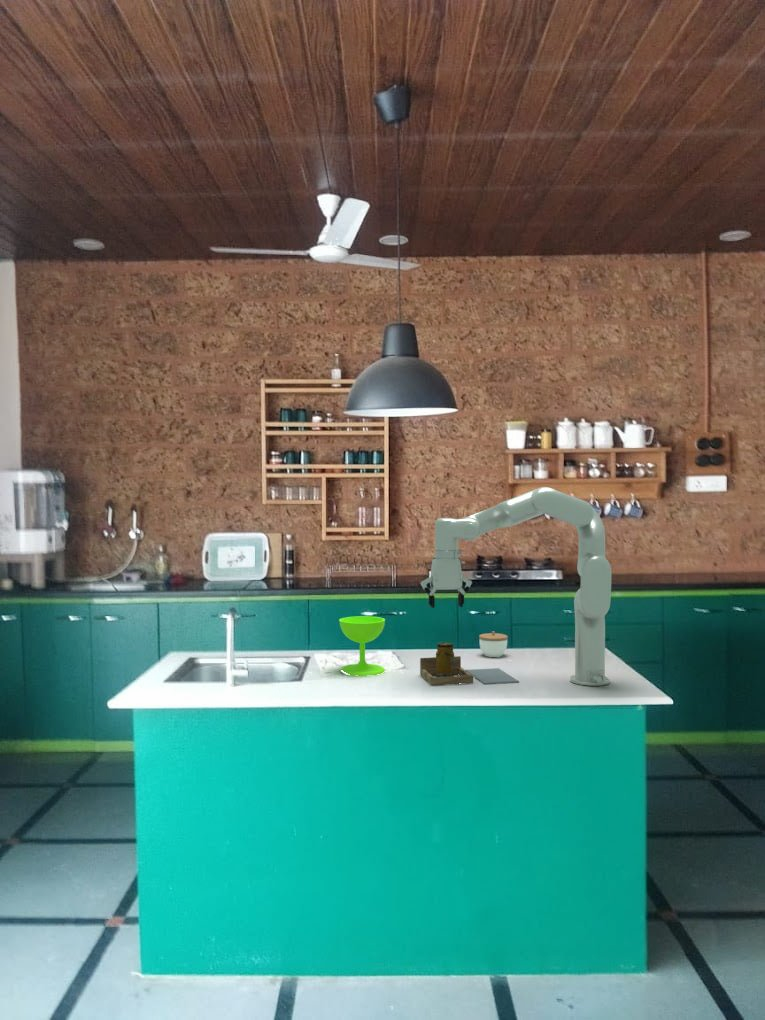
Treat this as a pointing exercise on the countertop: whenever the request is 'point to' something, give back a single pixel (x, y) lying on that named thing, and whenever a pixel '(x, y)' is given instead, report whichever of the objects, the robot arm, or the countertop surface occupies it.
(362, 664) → the wineglass
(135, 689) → the countertop surface
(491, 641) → the lidded jar
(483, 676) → the mat
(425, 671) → the holder
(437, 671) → the condiment
